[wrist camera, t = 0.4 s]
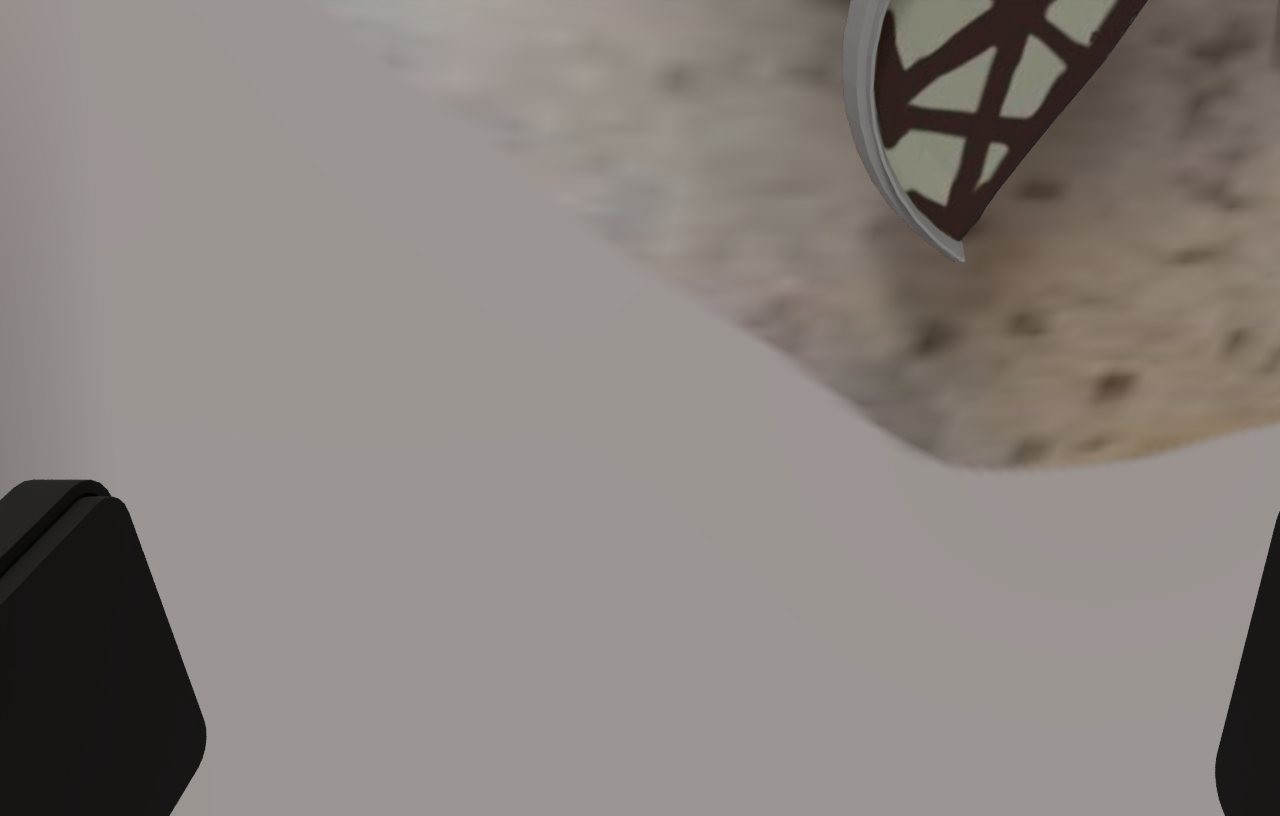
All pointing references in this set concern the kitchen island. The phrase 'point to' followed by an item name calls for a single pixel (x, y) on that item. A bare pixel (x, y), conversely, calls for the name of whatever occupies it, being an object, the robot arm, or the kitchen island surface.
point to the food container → (964, 95)
